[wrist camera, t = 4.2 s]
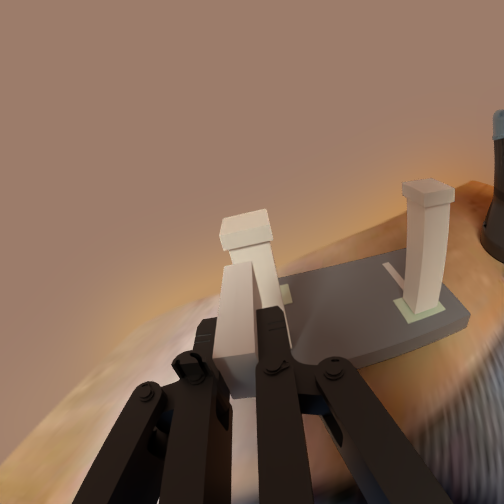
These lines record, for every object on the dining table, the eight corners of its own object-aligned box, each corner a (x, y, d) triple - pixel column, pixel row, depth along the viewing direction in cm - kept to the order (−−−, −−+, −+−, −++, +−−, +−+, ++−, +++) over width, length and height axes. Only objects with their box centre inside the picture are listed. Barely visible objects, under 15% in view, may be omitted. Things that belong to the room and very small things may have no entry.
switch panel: (406, 259, 36) (407, 246, 35) (466, 327, 22) (470, 313, 21) (236, 298, 38) (232, 286, 37) (232, 393, 24) (225, 381, 23)
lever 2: (425, 288, 26) (431, 178, 21) (440, 307, 23) (454, 188, 17) (399, 296, 26) (401, 182, 21) (413, 317, 23) (423, 193, 18)
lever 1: (290, 325, 27) (266, 208, 22) (295, 349, 24) (270, 224, 19) (257, 331, 28) (223, 218, 22) (258, 357, 25) (219, 235, 19)
